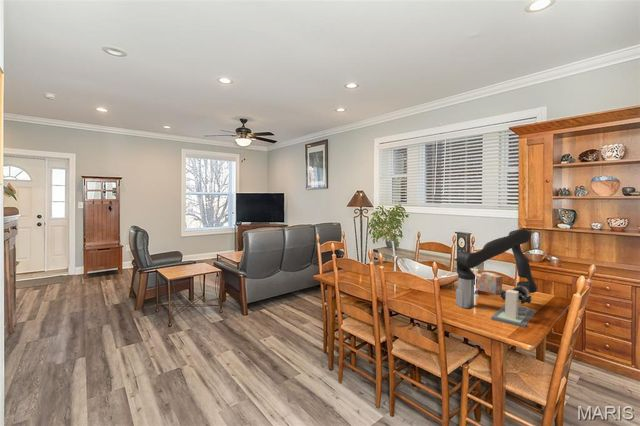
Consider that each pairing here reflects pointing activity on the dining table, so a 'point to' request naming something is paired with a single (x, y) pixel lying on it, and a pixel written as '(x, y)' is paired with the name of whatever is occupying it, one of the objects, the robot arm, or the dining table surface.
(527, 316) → the grey tray
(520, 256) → the robot arm
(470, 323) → the dining table surface
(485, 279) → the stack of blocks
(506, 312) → the cream block
